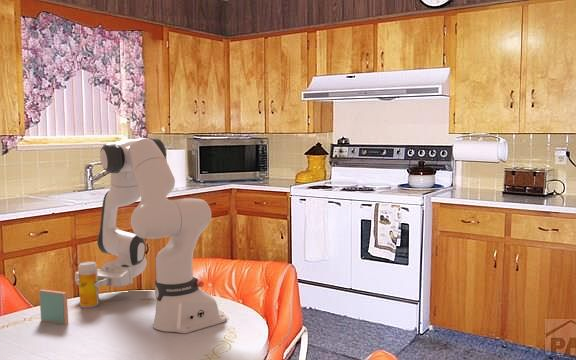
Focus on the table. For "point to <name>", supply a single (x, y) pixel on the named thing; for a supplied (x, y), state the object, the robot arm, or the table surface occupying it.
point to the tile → (53, 306)
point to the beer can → (88, 284)
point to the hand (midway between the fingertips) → (86, 283)
